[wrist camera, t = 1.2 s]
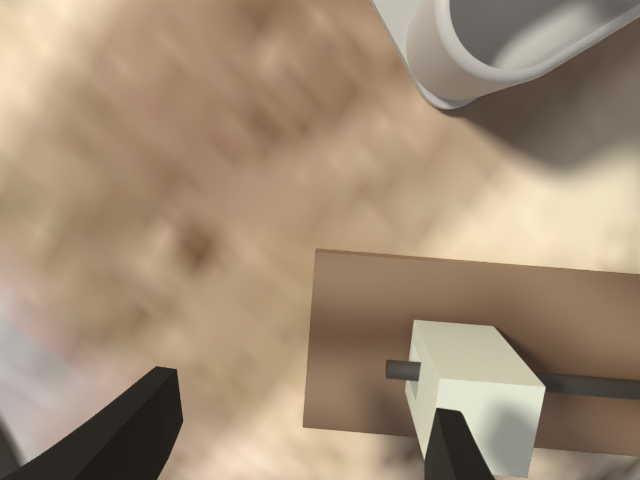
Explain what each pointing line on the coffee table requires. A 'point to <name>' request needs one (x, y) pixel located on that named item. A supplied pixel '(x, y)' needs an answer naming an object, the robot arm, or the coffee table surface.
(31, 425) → the coffee table surface
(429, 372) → the sleeve
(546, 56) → the phone holder
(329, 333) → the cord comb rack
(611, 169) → the coffee table surface
